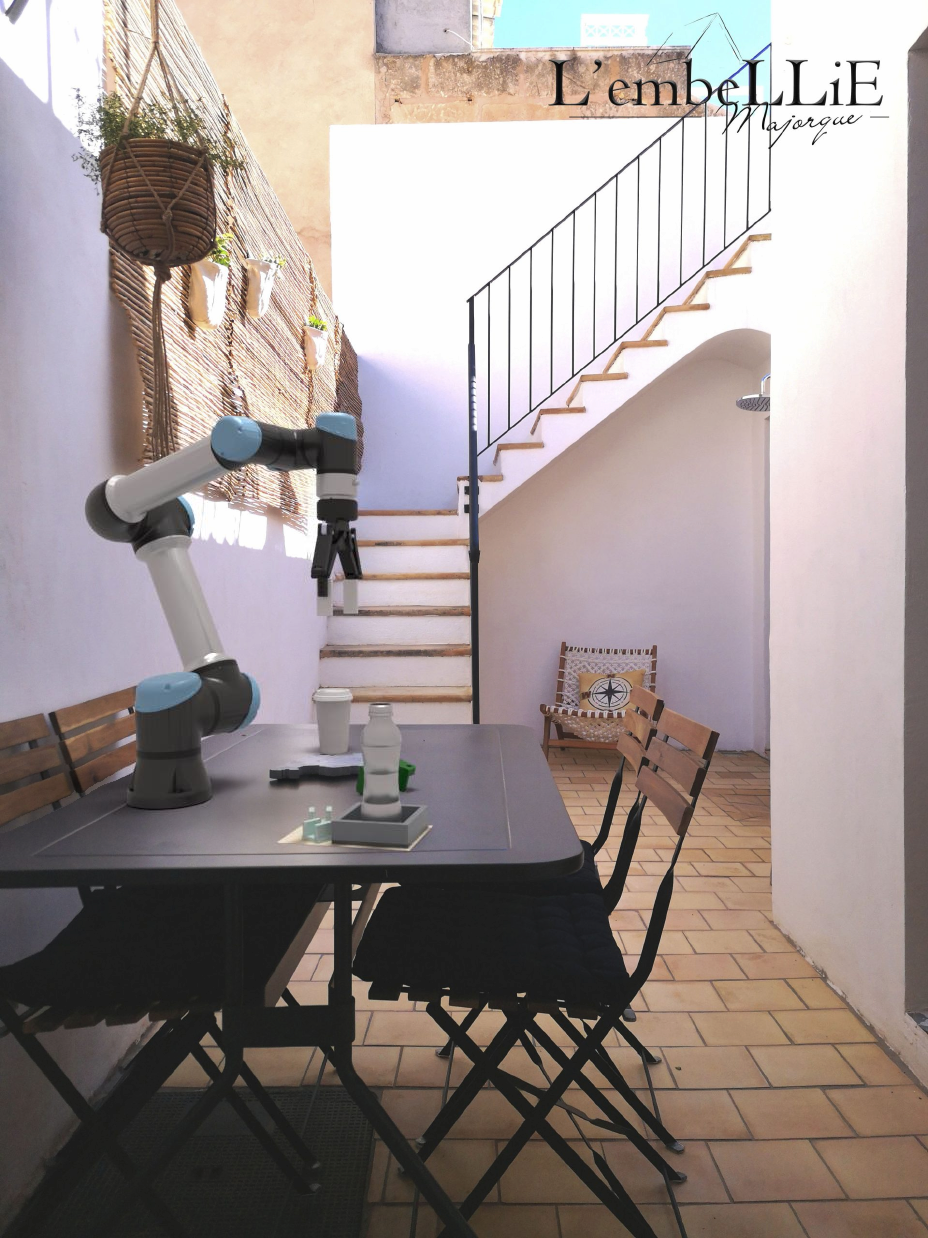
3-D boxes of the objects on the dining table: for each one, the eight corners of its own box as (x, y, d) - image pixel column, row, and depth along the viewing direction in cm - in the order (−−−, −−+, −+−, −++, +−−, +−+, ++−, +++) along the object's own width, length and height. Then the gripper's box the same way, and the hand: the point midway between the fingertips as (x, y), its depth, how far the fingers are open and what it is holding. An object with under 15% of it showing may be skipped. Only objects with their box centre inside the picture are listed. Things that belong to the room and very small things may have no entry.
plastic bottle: (380, 823, 143) (379, 700, 142) (411, 830, 139) (410, 703, 138) (351, 832, 138) (350, 704, 137) (382, 839, 134) (381, 708, 133)
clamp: (382, 820, 168) (378, 782, 164) (357, 808, 171) (354, 771, 167) (419, 785, 177) (417, 749, 172) (395, 775, 180) (393, 739, 175)
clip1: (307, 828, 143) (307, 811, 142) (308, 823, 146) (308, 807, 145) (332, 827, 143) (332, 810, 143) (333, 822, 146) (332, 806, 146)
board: (276, 849, 135) (276, 842, 135) (311, 825, 148) (311, 819, 148) (409, 857, 130) (409, 850, 130) (432, 831, 144) (432, 825, 144)
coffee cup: (311, 749, 218) (310, 688, 217) (349, 747, 221) (349, 687, 220) (316, 756, 209) (316, 693, 208) (357, 754, 212) (356, 691, 211)
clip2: (301, 838, 137) (301, 821, 137) (317, 834, 139) (317, 817, 139) (318, 843, 134) (318, 826, 134) (333, 839, 136) (333, 822, 136)
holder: (331, 844, 134) (331, 821, 134) (357, 823, 146) (357, 802, 145) (408, 848, 131) (407, 825, 131) (428, 827, 143) (428, 805, 143)
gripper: (332, 491, 150) (333, 616, 151) (377, 504, 174) (378, 612, 175) (290, 492, 151) (292, 616, 152) (341, 505, 176) (342, 612, 176)
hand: (338, 614), depth 164 cm, fingers open, 13 cm apart
